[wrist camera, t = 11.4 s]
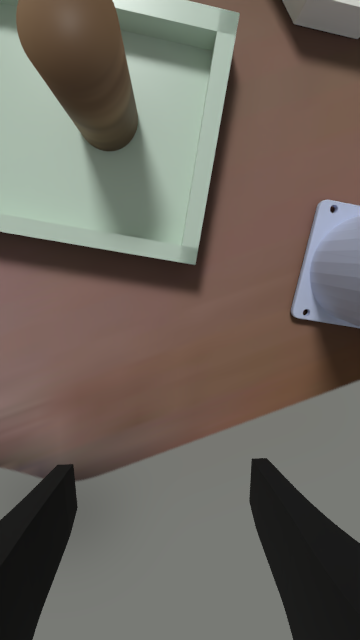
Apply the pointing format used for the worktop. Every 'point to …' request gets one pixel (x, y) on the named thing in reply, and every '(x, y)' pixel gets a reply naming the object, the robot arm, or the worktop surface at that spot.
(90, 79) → the dowel pin
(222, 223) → the worktop surface
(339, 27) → the white octagonal ring
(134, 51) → the tray
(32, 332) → the worktop surface
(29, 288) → the worktop surface
